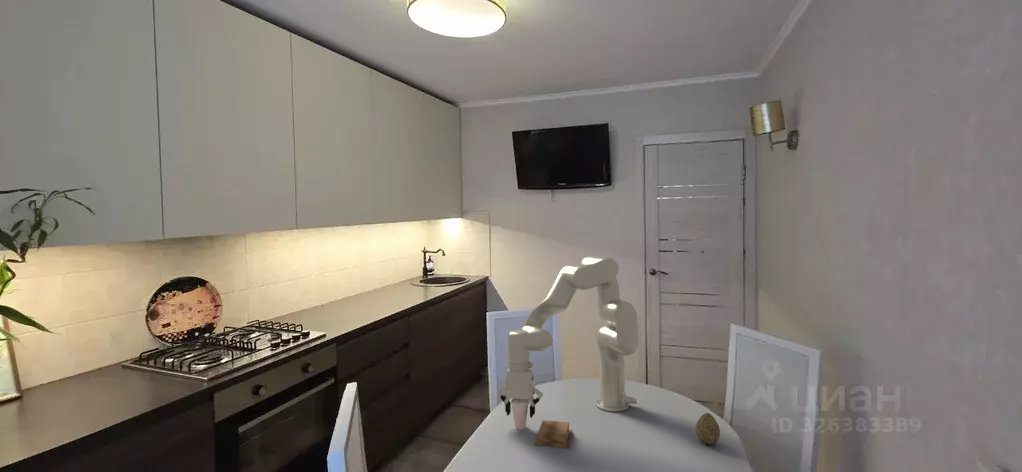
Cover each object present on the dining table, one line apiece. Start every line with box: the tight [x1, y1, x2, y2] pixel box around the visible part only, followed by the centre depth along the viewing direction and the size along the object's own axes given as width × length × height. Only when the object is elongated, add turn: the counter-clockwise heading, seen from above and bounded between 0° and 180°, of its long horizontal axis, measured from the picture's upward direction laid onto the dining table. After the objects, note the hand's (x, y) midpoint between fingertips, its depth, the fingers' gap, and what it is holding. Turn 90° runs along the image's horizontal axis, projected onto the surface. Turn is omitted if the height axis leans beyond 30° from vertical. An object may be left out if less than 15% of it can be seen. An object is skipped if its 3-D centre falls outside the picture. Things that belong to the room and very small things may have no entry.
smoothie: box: [510, 398, 530, 431], centre depth 163 cm, size 6×6×14 cm
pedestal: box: [534, 419, 573, 449], centre depth 155 cm, size 11×11×4 cm
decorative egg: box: [695, 412, 721, 446], centre depth 149 cm, size 7×7×10 cm
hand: (520, 414), depth 163 cm, fingers open, 7 cm apart
